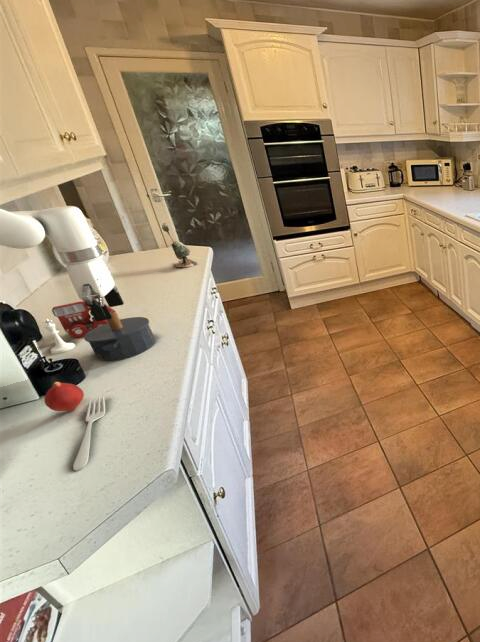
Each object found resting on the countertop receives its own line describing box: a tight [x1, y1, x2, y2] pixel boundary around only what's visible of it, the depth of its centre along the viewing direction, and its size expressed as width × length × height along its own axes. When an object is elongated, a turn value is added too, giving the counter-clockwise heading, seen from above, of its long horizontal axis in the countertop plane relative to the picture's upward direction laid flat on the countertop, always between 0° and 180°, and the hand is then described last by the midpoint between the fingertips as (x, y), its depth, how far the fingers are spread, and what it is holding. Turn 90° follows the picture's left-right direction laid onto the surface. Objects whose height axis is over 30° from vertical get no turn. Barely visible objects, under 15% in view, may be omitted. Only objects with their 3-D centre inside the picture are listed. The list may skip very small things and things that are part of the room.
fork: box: [72, 395, 106, 472], centre depth 83 cm, size 3×24×2 cm, turn 37°
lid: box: [83, 310, 150, 343], centre depth 111 cm, size 14×14×6 cm
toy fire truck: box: [51, 299, 116, 339], centre depth 123 cm, size 7×12×10 cm, turn 131°
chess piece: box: [42, 318, 76, 355], centre depth 113 cm, size 5×5×10 cm
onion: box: [44, 381, 85, 412], centre depth 89 cm, size 6×6×8 cm
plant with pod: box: [161, 222, 198, 268], centre depth 175 cm, size 8×11×20 cm
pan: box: [88, 323, 156, 363], centre depth 113 cm, size 13×18×6 cm
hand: (111, 312), depth 110 cm, fingers open, 9 cm apart
